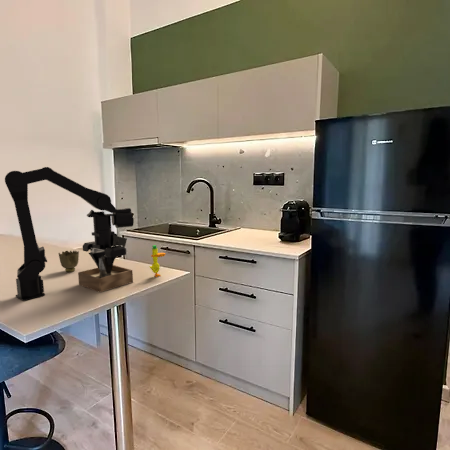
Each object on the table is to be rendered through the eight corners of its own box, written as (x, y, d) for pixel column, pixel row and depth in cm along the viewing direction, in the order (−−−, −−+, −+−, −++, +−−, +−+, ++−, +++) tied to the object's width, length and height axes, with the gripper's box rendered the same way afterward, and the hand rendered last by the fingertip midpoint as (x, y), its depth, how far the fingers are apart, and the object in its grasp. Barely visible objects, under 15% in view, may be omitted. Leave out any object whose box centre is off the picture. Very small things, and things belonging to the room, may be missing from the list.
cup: (72, 274, 129) (70, 254, 128) (55, 273, 131) (54, 253, 130) (84, 269, 137) (82, 250, 135) (68, 268, 138) (66, 249, 137)
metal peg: (103, 281, 115) (102, 259, 113) (97, 279, 117) (96, 257, 116) (114, 279, 118) (112, 257, 117) (107, 277, 120) (106, 255, 119)
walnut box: (99, 292, 108) (98, 279, 108) (79, 284, 117) (78, 272, 116) (132, 282, 119) (132, 270, 118) (112, 275, 127) (111, 264, 126)
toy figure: (164, 273, 129) (163, 243, 127) (167, 275, 126) (166, 245, 124) (147, 276, 126) (146, 245, 124) (150, 278, 123) (149, 247, 121)
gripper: (138, 228, 115) (140, 271, 118) (108, 224, 127) (110, 263, 129) (110, 232, 107) (112, 279, 109) (80, 228, 118) (83, 270, 120)
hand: (105, 272), depth 117 cm, fingers closed on metal peg, 4 cm apart
